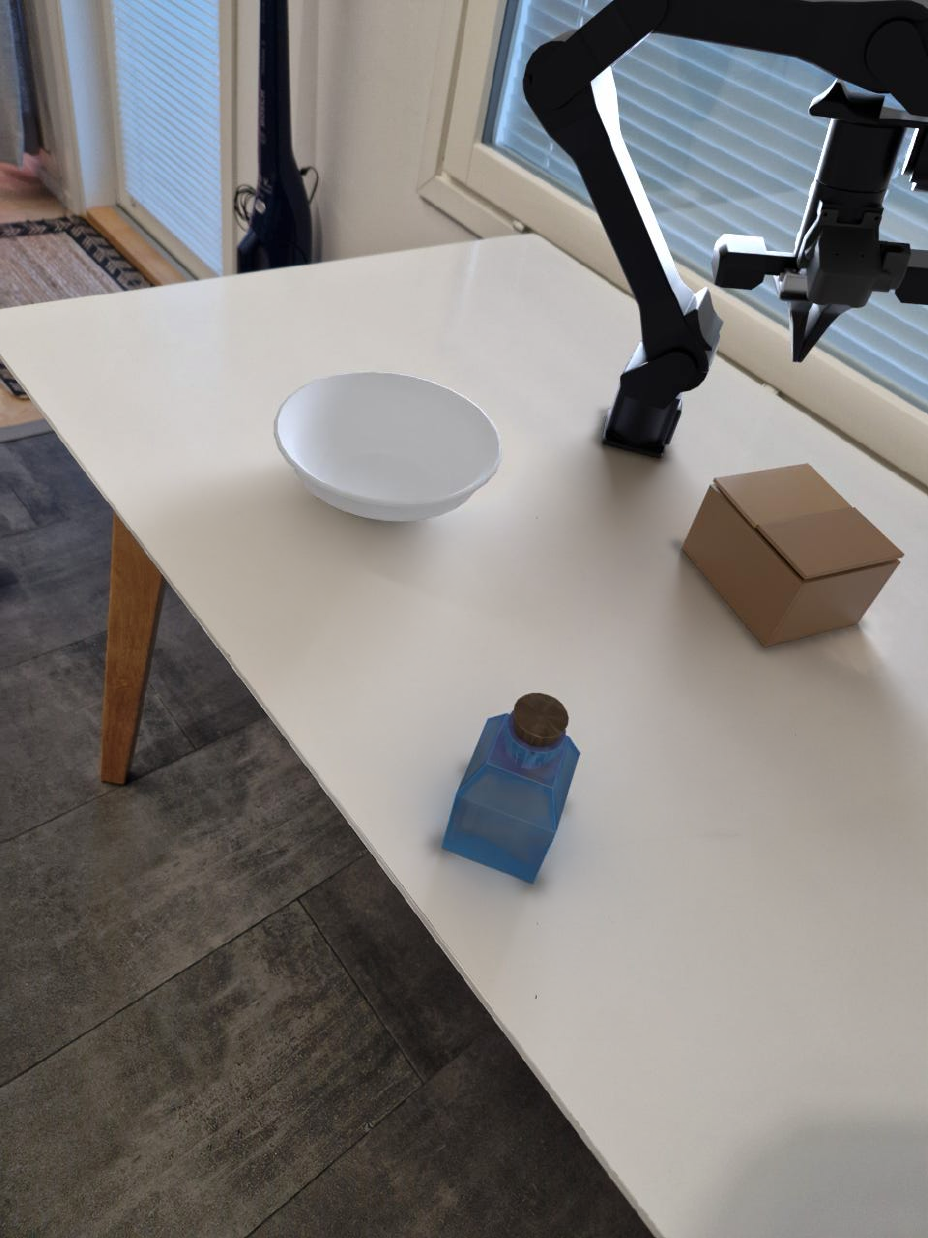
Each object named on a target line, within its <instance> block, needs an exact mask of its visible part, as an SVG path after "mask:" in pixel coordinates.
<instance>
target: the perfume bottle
mask: <svg viewBox="0 0 928 1238" xmlns="http://www.w3.org/2000/svg"><path fill="white" fill-rule="evenodd" d="M569 721H570V717H569V714H568V710H567V709H566V707H565V705H564V704H563V703H562V702H561V701H560V700H558V699H557V697H556V698H555V697H554V696H552V695H550V694H546V693H543V692H530V693H527V694H524V695H522V696H520V698H518V699H517V700H516V702H515V703H514V706H513V709H512V710H511V711H510V713H508V712H505V713H502V714H498V715H494V716H491V717H488V718H487V719H486V722H485V724H484V726H483V728H482V731H481V734H480V736H479V739H478V741H477V743H476V746H475V747H474V750H473V753H472V755H471V757H470V759H469V761H468V764H467V767H466V770H465V772H464V774H463V776H462V779H461V781H460V784H459V786H458V788H457V791H456V792H455V793H456V794H455V796H454V800H453V804H452V807H451V811H450V814H449V818H448V821H447V826H446V829H445V831H444V836H443V839H442V844H441V849H444V850H446V851H449V852H451V853H454V854H456V855H459V856H461V857H464V858H466V859H468V860H470V861H473V862H476V863H478V864H481V865H483V866H486V867H489V868H491V869H494V870H497V871H499V872H502V873H504V874H506V875H509V876H512V877H513V878H517V879H519V880H522V881H524V882H527V883H529V884H532V885H534V883H535V882H536V879H537V877H538V875H539V872H540V870H541V867H542V866H543V863H544V861H545V859H546V856H547V855H548V852H549V851H550V847H551V846H552V843H553V842H554V839H555V836H556V835H557V832H558V828H559V825H560V821H561V818H562V815H563V812H564V808H565V806H566V801H567V798H568V795H569V792H570V789H571V786H572V783H573V780H574V779H573V778H574V776H575V772H576V769H577V766H578V762H579V759H580V756H581V751H580V750H579V749H578V747H577V745H576V744H575V743H574V741H573V740H572V738H571V737H570V736H569V735H567V727H568V726H569Z"/></svg>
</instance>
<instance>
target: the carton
mask: <svg viewBox="0 0 928 1238" xmlns="http://www.w3.org/2000/svg"><path fill="white" fill-rule="evenodd" d="M681 550H682V551H683V552H684V553H685V554H686V555H687V556H688V558H689V559H690V560H691V561H692V562H693V563H694V565H695V566H696V567H697V569H698V570H699V571H700V572H701V573H702V575H703V576H704V577H705V578H706V579H707V580H708V581H709V583H710V584H711V585H712V586H713V588H714V589H715V590H716V591H717V592H718V594H720V596H721V598H723V600H724V601H725V602H726V603H727V604H728V606H729V607H730V608H731V609H732V611H734V613H735V614H736V615H737V616H738V618H739V619H740V620H741V621H742V622H743V624H744V625H745V626H746V627H747V628H748V630H749V631H750V632H751V633H752V634H753V635H754V637H755V638H756V639H757V640H758V642H759V643H760V644H761V645H762V646H763V647H764V648H767V647H770V646H771V647H772V646H774V645H775V646H776V645H778V644H783V643H787V642H790V641H794V640H797V639H801V638H805V637H809V636H813V635H817V634H821V633H825V632H829V631H832V630H837V629H841V628H844V627H849V626H852V625H856V624H859V623H860V621H861V620H862V618H863V617H864V616H865V614H866V613H867V611H868V610H869V609H870V607H871V606H872V604H873V603H874V601H875V600H876V598H877V597H878V595H879V594H880V593H881V591H882V590H883V588H884V587H885V586H886V584H887V583H888V581H889V580H890V578H891V577H892V576H893V574H894V572H895V571H896V570H897V568H898V567H899V565H900V564H901V560H900V559H903V557H905V553H904V552H903V551H902V550H901V549H900V547H898V546H896V544H895V543H893V542H892V540H891V539H889V538H888V537H887V536H886V535H885V534H884V533H883V532H882V531H881V530H879V528H878V527H877V526H875V524H873V523H872V522H871V521H870V520H869V519H868V518H867V517H866V516H865V515H864V514H863V513H862V512H861V511H859V510H858V509H857V508H856V507H855V506H852V508H847V509H841V510H836V511H831V512H825V513H820V514H815V515H809V516H804V517H799V518H794V519H788V520H783V521H778V522H772V523H767V524H762V525H758V527H757V528H754V527H753V526H752V525H751V523H750V522H749V521H748V520H747V519H746V518H745V517H744V516H743V515H742V513H741V512H740V511H739V510H738V509H737V508H736V507H735V506H734V504H733V503H732V502H731V501H730V500H729V499H728V498H727V497H726V495H725V494H724V493H723V492H722V491H721V490H720V489H719V488H718V486H717V485H716V484H715V483H712V484H711V483H710V484H709V486H708V488H707V491H706V493H705V495H704V497H703V499H702V501H701V504H700V506H699V509H698V511H697V513H696V515H695V517H694V519H693V522H692V524H691V526H690V528H689V531H688V533H687V535H686V537H685V539H684V542H683V544H682V546H681Z"/></svg>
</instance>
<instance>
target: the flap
mask: <svg viewBox="0 0 928 1238" xmlns="http://www.w3.org/2000/svg"><path fill="white" fill-rule="evenodd" d="M712 482H713V484H716V485H717V486H718V488H719V489H720V490H721V491H722V492H723V493H724V494H725V495H726V497H727V498H728V499H729V500H730V501H731V502H732V503H733V504H734V506H735V507H736V508H737V509H738V510H739V511H740V512H741V513H742V515H743V516H744V517H745V518H746V519H747V520H748V521H749V522H750V523H751V525H752V526H753V527H754V528H757V527H758V525H762V524H767V523H772V522H778V521H783V520H788V519H794V518H799V517H804V516H809V515H815V514H820V513H825V512H831V511H836V510H841V509H847V508H852V507H853V506H852V505H851V504H850V503H849V502H848V501H847V499H845V498H844V497H843V496H842V495H841V494H840V493H839V492H838V491H837V490H836V489H835V488H834V487H833V486H832V485H831V484H830V483H829V482H828V481H827V480H826V479H825V478H824V477H823V476H822V475H821V474H820V473H818V471H817V470H816V469H814V468H813V466H812V465H810V463H808V462H805V463H799V464H793V465H786V466H781V467H774V468H767V469H762V470H755V471H749V472H742V473H736V474H730V475H725V476H723V475H722V476H717V477H714V478H713V480H712Z"/></svg>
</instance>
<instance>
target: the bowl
mask: <svg viewBox="0 0 928 1238" xmlns="http://www.w3.org/2000/svg"><path fill="white" fill-rule="evenodd" d="M500 435H501V434H500V432H499V430H498V428H497V427H496V425H495V424H494V421H493V420H492V418H491V417H489V415H487V413H486V412H485V411H484V410H483V409H482V408H481V407H480V406H479V405H477V404H476V403H474V402H473V401H472V400H470V399H469V398H468V397H466V396H464V395H463V394H461V393H459V392H457V391H455V390H454V389H452V388H450V387H447V386H444V385H442V384H439V383H438V382H435V381H432V380H429V379H425V378H422V377H418V376H414V375H409V374H404V373H399V372H392V371H391V372H389V371H376V370H375V371H374V370H369V371H368V370H367V371H348V372H343V373H337V374H336V373H335V374H331V375H328V376H324V377H321V378H318V379H314V380H313V381H311V382H309V383H306V384H304V385H302V386H300V387H299V388H298V389H296V390H295V391H294V392H292V393H291V394H289V395H288V396H287V397H286V399H284V401H283V402H282V403H281V405H280V406H279V408H278V410H277V412H276V415H275V418H274V420H273V438H274V440H275V445H276V447H277V449H278V451H279V452H280V454H281V456H282V457H283V458H284V461H286V462H287V464H289V465H290V466H291V467H292V468H293V471H294V473H295V475H296V476H297V478H298V480H299V481H300V482H301V484H302V485H303V486H304V487H305V488H306V489H307V490H308V491H309V492H310V493H312V494H313V496H315V497H317V498H318V499H320V500H322V501H323V502H324V503H326V504H328V505H329V506H331V507H333V508H337V509H339V510H340V511H343V512H345V513H348V514H352V515H355V516H359V517H362V518H364V519H365V518H366V519H372V520H378V521H384V522H413V521H423V520H428V519H432V518H436V517H439V516H442V515H445V514H447V513H450V512H452V511H454V510H457V509H458V508H459V507H460V506H463V504H465V503H466V502H467V501H468V500H469V499H470V498H471V497H472V496H473V494H475V492H476V491H478V490H479V489H481V488H482V487H484V486H485V485H487V484H488V482H490V481H491V479H492V478H493V477H494V476H495V475H496V473H497V472H498V470H499V467H500V465H501V462H502V459H503V442H502V439H501V436H500Z"/></svg>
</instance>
